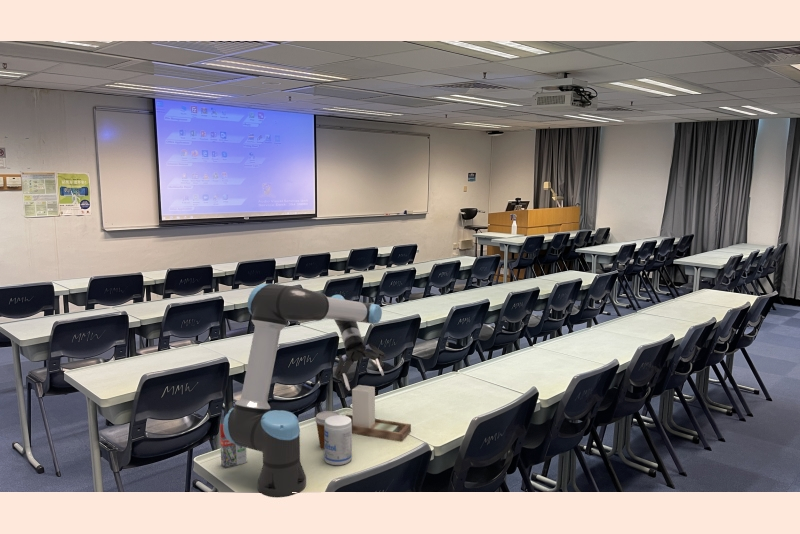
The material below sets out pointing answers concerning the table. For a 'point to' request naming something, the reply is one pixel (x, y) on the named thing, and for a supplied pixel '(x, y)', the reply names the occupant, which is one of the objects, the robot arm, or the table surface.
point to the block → (363, 406)
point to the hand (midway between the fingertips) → (365, 380)
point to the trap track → (383, 430)
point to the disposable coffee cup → (323, 424)
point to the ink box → (231, 452)
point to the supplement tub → (338, 440)
